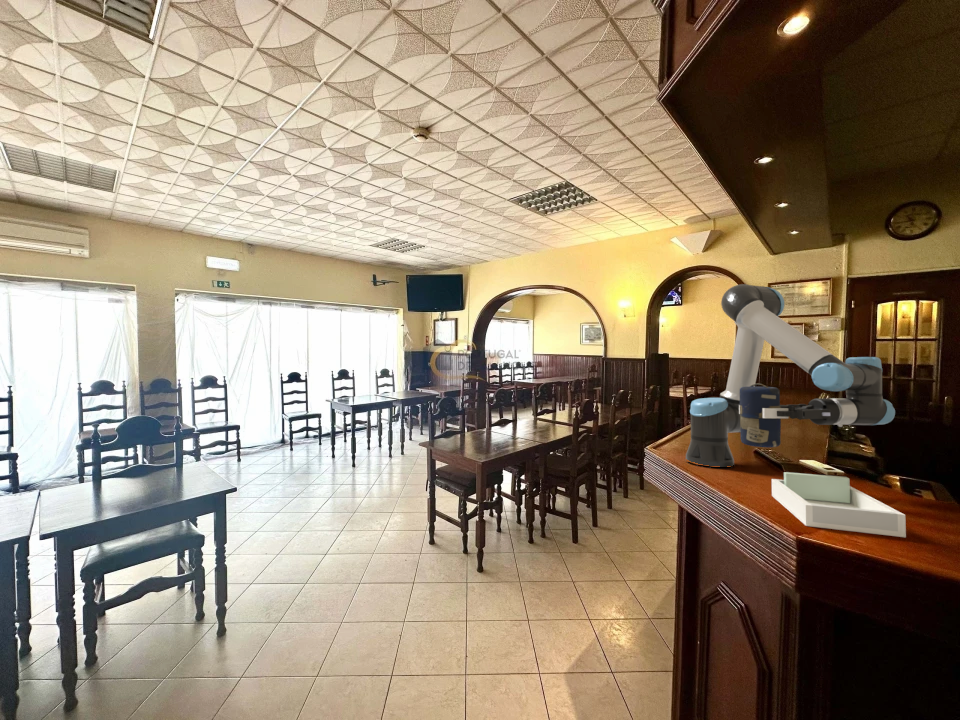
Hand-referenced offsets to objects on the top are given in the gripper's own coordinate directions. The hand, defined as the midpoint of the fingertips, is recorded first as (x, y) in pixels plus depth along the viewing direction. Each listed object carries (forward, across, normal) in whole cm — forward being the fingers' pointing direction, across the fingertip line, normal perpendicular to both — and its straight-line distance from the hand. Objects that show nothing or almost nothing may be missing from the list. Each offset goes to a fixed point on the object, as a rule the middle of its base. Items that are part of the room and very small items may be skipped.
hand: (751, 411), depth 113 cm
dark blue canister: (-3, 0, -10) cm, 11 cm away
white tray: (-4, -20, -22) cm, 30 cm away
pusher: (-7, -14, -21) cm, 26 cm away
